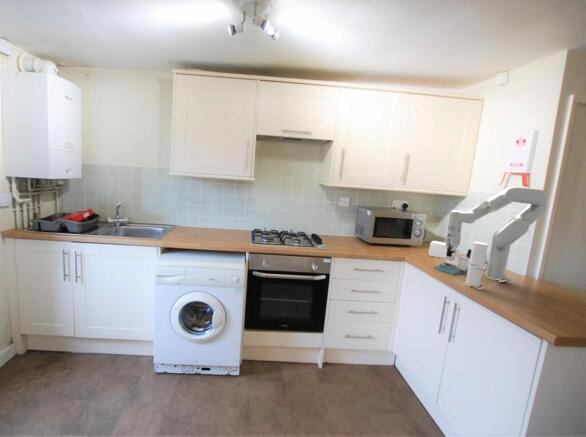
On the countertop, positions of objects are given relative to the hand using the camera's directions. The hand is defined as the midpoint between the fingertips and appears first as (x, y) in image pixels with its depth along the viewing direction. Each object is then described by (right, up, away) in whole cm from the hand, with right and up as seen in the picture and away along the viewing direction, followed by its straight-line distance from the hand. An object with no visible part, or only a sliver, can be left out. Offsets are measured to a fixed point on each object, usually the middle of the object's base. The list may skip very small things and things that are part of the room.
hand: (450, 255), depth 200 cm
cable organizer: (+8, -5, +33) cm, 34 cm away
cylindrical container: (-2, -14, -28) cm, 32 cm away
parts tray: (-6, -10, -7) cm, 14 cm away
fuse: (+4, -10, -6) cm, 12 cm away
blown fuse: (0, -3, 0) cm, 3 cm away
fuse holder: (+1, -10, -2) cm, 10 cm away
